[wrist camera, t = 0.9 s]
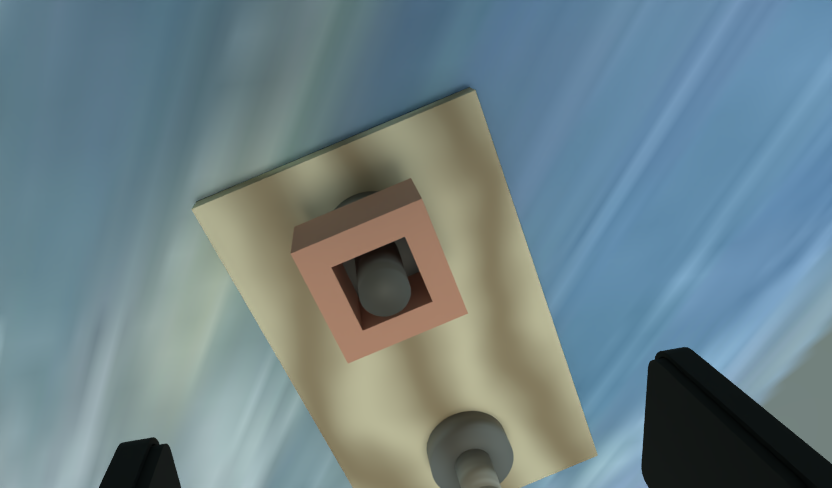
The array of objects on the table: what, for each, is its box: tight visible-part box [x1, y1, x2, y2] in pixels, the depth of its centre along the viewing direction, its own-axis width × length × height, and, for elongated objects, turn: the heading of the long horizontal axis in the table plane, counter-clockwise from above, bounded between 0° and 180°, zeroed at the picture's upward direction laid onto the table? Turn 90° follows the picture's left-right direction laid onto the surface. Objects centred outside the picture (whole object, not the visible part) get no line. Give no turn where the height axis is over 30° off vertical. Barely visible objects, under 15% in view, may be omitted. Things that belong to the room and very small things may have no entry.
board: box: [192, 87, 597, 488], centre depth 37 cm, size 18×30×10 cm, turn 21°
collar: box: [290, 178, 468, 363], centre depth 32 cm, size 7×7×4 cm
